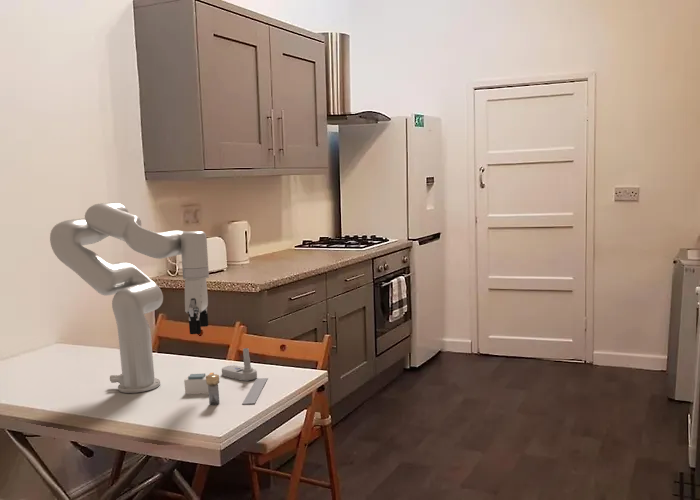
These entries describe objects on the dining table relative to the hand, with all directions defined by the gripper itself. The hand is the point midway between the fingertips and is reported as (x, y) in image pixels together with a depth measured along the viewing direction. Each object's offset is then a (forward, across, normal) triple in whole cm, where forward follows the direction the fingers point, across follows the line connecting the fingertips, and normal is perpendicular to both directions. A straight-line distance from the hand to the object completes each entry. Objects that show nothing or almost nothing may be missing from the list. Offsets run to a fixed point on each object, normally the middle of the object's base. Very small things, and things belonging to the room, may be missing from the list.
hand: (199, 330), depth 207 cm
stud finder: (+19, +1, -1) cm, 19 cm away
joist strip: (+18, +3, +16) cm, 25 cm away
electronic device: (+19, -13, +9) cm, 25 cm away
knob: (+18, +13, +6) cm, 23 cm away
